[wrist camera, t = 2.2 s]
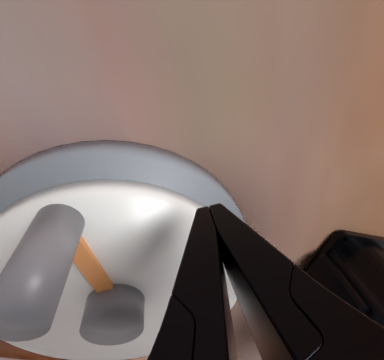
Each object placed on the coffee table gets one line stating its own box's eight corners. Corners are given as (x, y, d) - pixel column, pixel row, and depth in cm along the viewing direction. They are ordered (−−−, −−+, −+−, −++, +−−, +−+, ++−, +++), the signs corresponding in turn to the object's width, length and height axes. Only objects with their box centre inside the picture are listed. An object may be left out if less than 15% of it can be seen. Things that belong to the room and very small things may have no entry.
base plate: (288, 178, 14) (324, 219, 11) (197, 326, 22) (204, 373, 19) (-52, 96, 9) (-141, 129, 7) (-14, 319, 17) (-48, 380, 14)
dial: (245, 312, 18) (274, 405, 14) (60, 358, 18) (31, 465, 14) (220, 145, 10) (270, 235, 6) (-106, 225, 10) (-297, 375, 6)
